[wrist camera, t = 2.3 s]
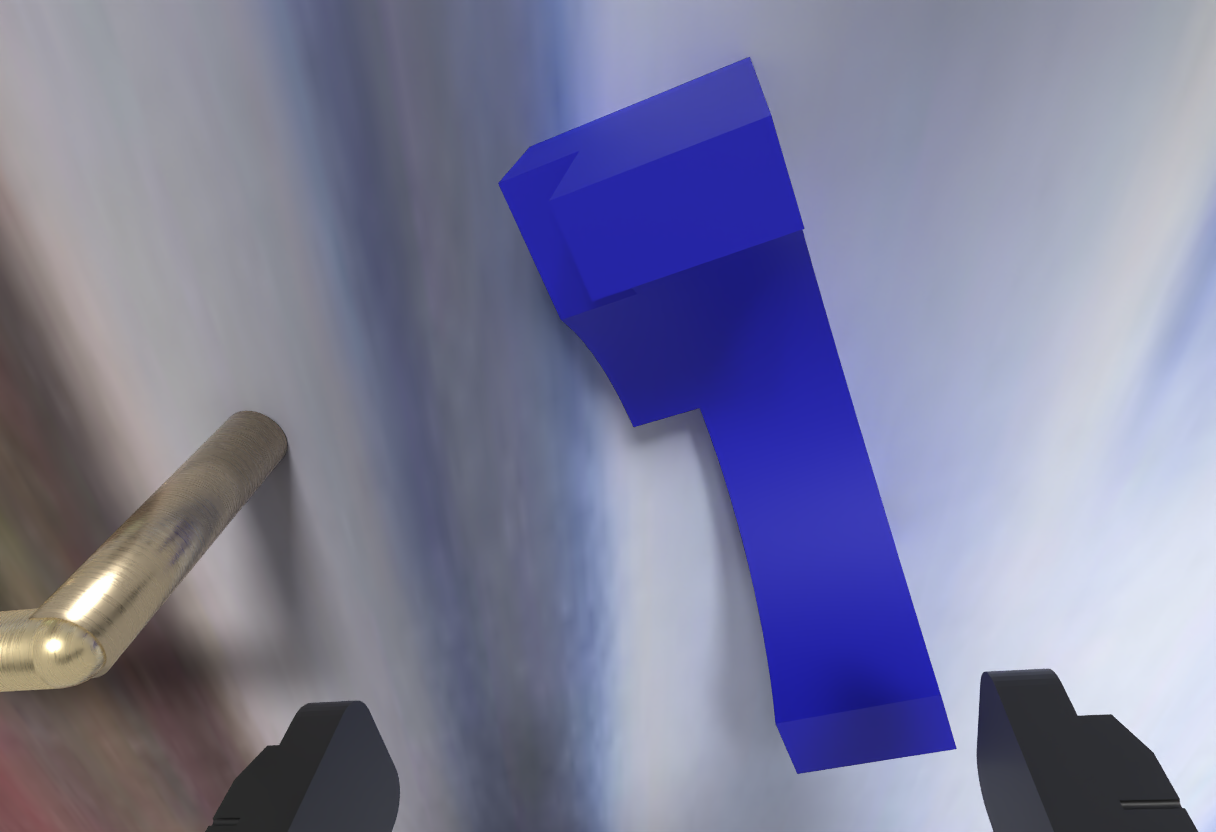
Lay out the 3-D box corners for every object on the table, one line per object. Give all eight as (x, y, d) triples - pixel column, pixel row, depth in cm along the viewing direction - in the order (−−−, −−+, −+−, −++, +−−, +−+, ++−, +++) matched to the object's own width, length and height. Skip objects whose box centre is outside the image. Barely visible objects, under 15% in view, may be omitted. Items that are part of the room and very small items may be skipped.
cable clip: (531, 144, 16) (449, 238, 11) (749, 55, 15) (771, 114, 10) (719, 582, 21) (723, 785, 16) (892, 542, 20) (956, 748, 15)
